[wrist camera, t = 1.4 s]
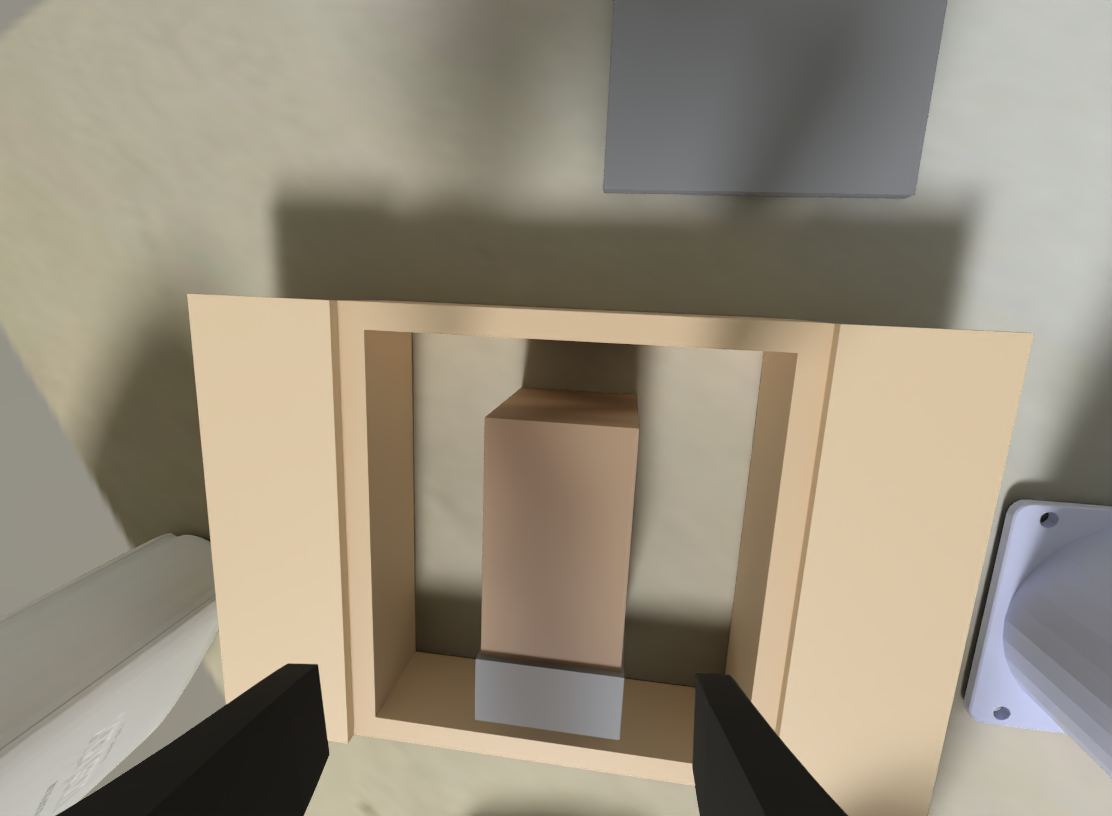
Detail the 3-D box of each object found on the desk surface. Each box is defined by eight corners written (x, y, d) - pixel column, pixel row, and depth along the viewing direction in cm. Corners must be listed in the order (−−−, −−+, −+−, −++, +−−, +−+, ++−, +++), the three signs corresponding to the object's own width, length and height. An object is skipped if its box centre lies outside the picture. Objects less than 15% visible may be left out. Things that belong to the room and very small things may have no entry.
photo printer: (165, 735, 24) (-291, 1164, 12) (87, 681, 24) (-446, 1057, 12) (263, 571, 22) (-187, 904, 10) (176, 510, 22) (-381, 770, 10)
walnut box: (639, 394, 18) (643, 430, 13) (621, 629, 20) (619, 740, 15) (519, 387, 19) (479, 418, 14) (512, 617, 21) (475, 719, 16)
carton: (942, 325, 17) (1034, 333, 13) (867, 729, 20) (924, 832, 16) (273, 295, 19) (186, 293, 16) (296, 652, 22) (227, 725, 19)
